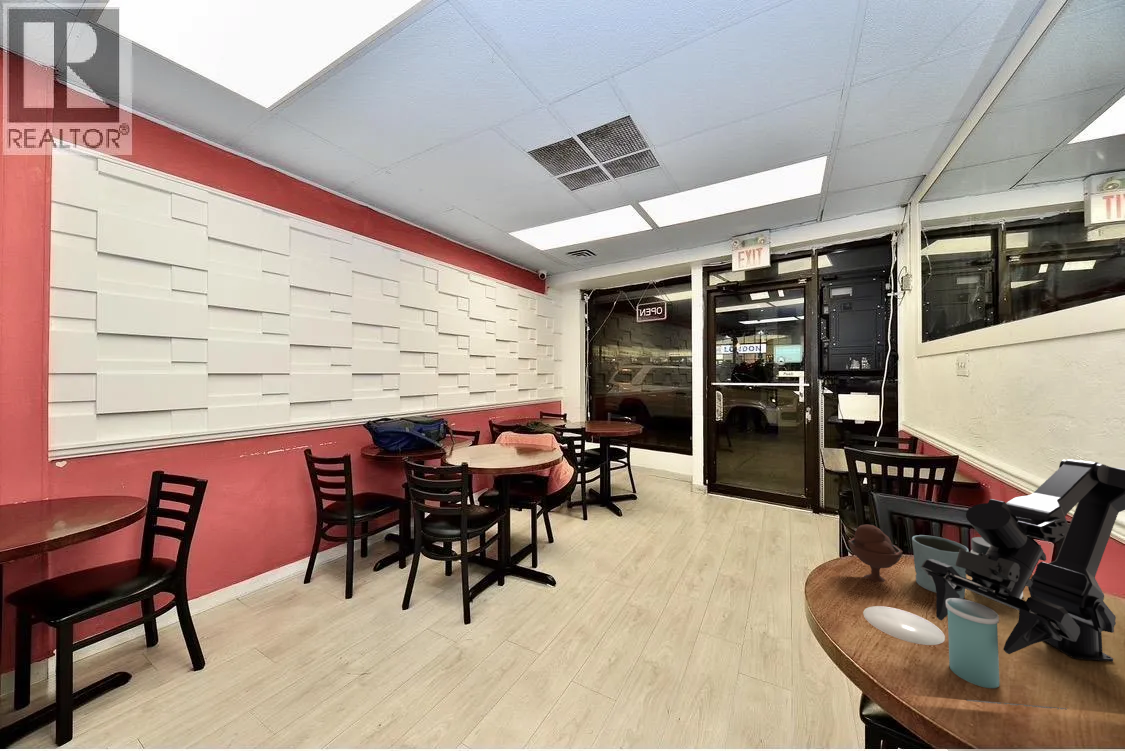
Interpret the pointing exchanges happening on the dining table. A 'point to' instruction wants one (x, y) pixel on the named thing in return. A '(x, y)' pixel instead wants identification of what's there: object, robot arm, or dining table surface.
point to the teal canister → (973, 642)
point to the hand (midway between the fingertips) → (970, 634)
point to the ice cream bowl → (874, 550)
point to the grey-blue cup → (935, 558)
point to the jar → (981, 548)
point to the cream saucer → (904, 625)
